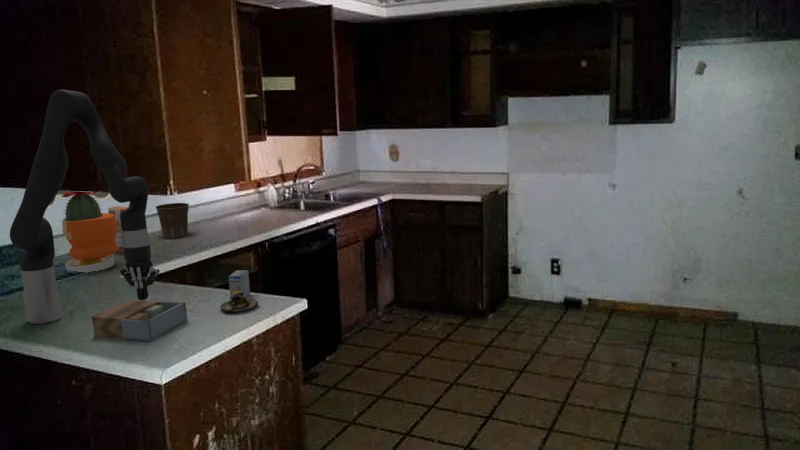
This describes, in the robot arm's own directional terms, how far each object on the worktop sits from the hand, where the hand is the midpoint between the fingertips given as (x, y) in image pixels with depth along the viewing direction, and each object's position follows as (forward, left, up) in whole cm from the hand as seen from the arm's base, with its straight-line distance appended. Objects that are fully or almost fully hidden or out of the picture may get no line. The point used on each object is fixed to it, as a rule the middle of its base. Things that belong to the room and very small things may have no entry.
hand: (143, 299), depth 199 cm
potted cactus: (-71, +59, -8) cm, 93 cm away
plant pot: (-75, +120, -8) cm, 142 cm away
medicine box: (+15, +30, -8) cm, 35 cm away
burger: (+21, +19, -9) cm, 30 cm away
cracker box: (-77, +86, -8) cm, 116 cm away
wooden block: (-4, -4, -8) cm, 10 cm away
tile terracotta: (+2, -7, -5) cm, 9 cm away
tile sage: (+2, 0, -5) cm, 5 cm away
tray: (+6, -4, -8) cm, 11 cm away
